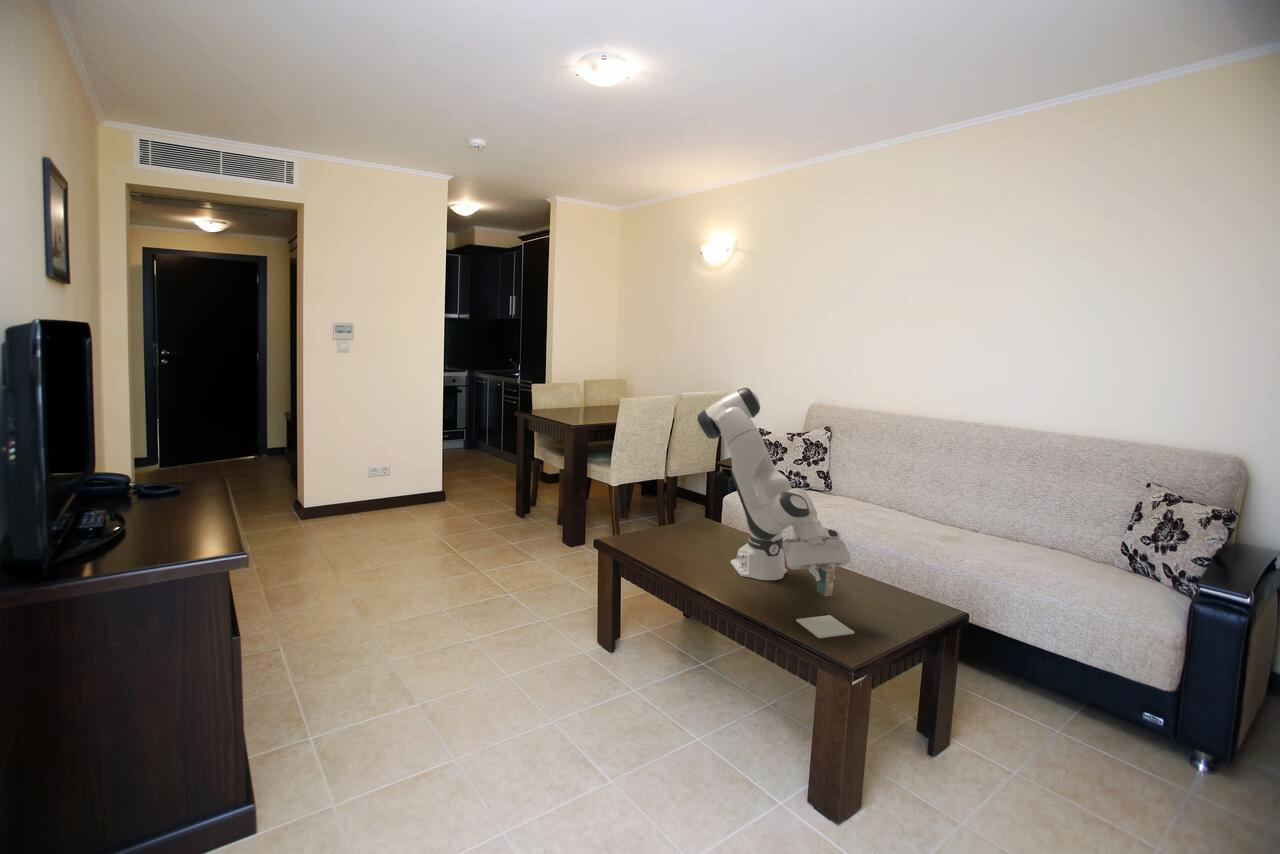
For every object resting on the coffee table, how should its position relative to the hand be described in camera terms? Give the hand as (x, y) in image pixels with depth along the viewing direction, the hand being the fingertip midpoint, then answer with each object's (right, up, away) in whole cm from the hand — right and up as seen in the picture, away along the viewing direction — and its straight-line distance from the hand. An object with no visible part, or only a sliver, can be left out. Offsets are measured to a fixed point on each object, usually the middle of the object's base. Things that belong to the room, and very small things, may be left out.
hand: (826, 580), depth 191 cm
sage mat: (0, -15, +3) cm, 15 cm away
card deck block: (0, -4, +1) cm, 4 cm away
